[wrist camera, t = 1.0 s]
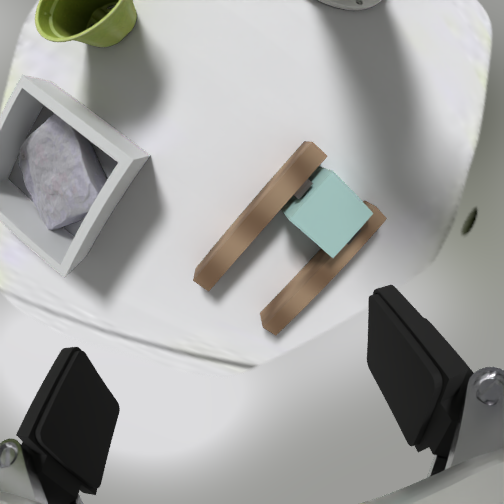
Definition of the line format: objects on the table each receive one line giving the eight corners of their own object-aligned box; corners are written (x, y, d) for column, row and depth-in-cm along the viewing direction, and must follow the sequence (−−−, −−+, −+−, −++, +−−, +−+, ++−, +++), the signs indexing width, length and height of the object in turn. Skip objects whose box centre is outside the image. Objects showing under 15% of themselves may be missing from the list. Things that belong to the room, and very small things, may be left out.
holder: (51, 81, 24) (22, 74, 18) (150, 155, 28) (133, 159, 23) (1, 181, 27) (-29, 191, 21) (86, 255, 32) (64, 277, 26)
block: (316, 165, 30) (332, 171, 26) (353, 202, 32) (373, 213, 28) (279, 207, 32) (289, 220, 27) (318, 241, 34) (332, 258, 29)
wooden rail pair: (304, 141, 29) (315, 142, 25) (374, 211, 33) (391, 221, 29) (195, 268, 33) (192, 285, 30) (272, 321, 37) (277, 340, 33)
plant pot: (77, 2, 20) (43, -24, 12) (154, -18, 21) (135, -56, 13) (71, 69, 24) (29, 55, 16) (151, 51, 24) (126, 23, 16)
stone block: (70, 227, 32) (122, 195, 29) (44, 242, 28) (94, 208, 25) (36, 146, 29) (83, 100, 25) (8, 153, 24) (52, 101, 21)
